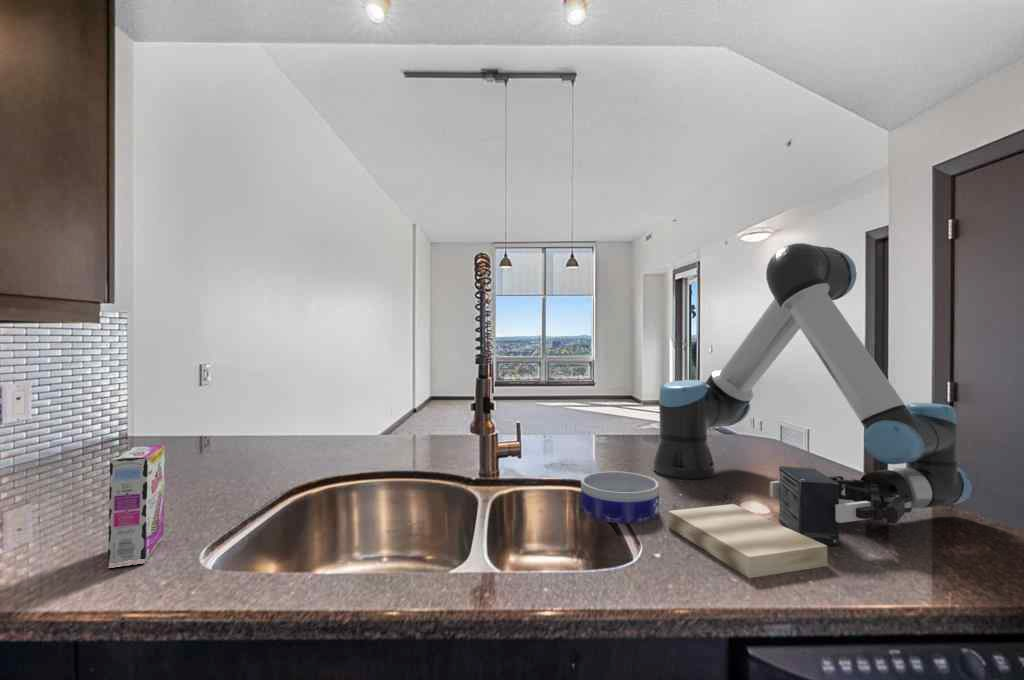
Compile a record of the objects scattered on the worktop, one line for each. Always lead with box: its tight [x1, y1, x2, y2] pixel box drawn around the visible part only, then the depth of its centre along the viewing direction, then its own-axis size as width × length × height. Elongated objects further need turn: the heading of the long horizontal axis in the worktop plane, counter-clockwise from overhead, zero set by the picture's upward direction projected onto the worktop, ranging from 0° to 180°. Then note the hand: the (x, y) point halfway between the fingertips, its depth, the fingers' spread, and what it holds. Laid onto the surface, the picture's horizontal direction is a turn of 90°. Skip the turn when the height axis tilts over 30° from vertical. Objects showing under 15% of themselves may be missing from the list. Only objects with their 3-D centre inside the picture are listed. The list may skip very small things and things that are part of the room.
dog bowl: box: [580, 470, 660, 525], centre depth 98 cm, size 15×15×6 cm
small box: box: [778, 465, 840, 546], centre depth 86 cm, size 11×6×10 cm, turn 168°
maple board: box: [667, 503, 828, 579], centre depth 81 cm, size 20×14×3 cm
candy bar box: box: [107, 445, 166, 564], centre depth 79 cm, size 11×5×16 cm, turn 23°
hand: (801, 500), depth 85 cm, fingers open, 13 cm apart
